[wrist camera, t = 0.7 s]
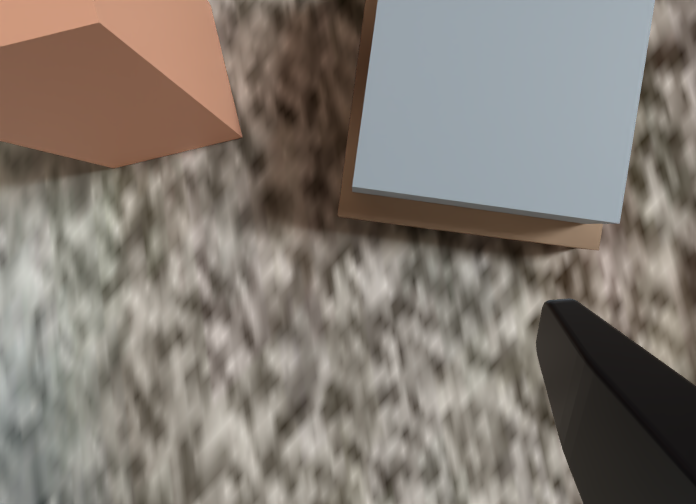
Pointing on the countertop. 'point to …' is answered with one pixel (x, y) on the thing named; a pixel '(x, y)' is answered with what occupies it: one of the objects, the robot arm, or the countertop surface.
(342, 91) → the countertop surface
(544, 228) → the walnut base slab
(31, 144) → the terracotta block
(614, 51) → the grey top slab
